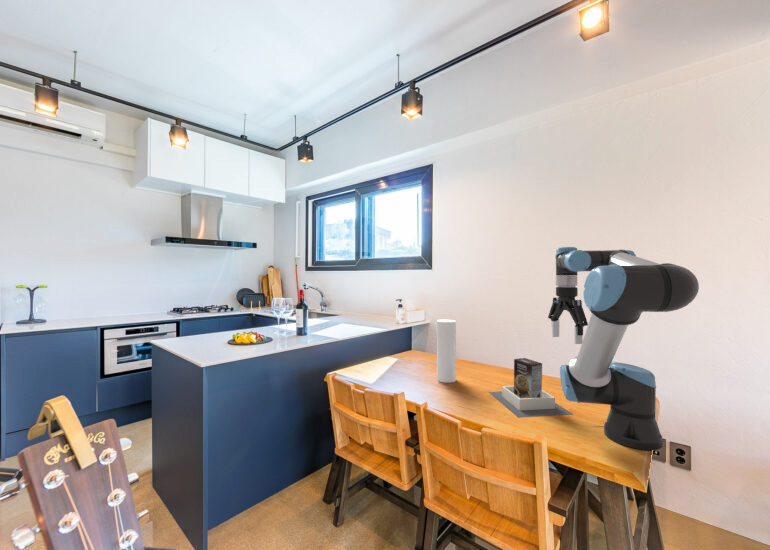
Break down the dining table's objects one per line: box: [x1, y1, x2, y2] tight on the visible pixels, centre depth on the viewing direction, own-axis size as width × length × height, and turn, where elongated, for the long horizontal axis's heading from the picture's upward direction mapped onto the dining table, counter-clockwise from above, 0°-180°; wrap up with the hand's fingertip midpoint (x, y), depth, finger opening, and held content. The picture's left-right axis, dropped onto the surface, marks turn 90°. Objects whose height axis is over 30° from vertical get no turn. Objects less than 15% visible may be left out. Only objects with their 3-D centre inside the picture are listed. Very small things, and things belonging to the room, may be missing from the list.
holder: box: [501, 385, 556, 410], centre depth 135 cm, size 15×15×4 cm
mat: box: [488, 390, 574, 419], centre depth 135 cm, size 26×22×1 cm
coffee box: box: [513, 357, 543, 398], centre depth 135 cm, size 9×6×16 cm
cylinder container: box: [436, 318, 457, 384], centre depth 165 cm, size 9×9×30 cm
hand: (566, 340), depth 130 cm, fingers open, 13 cm apart
